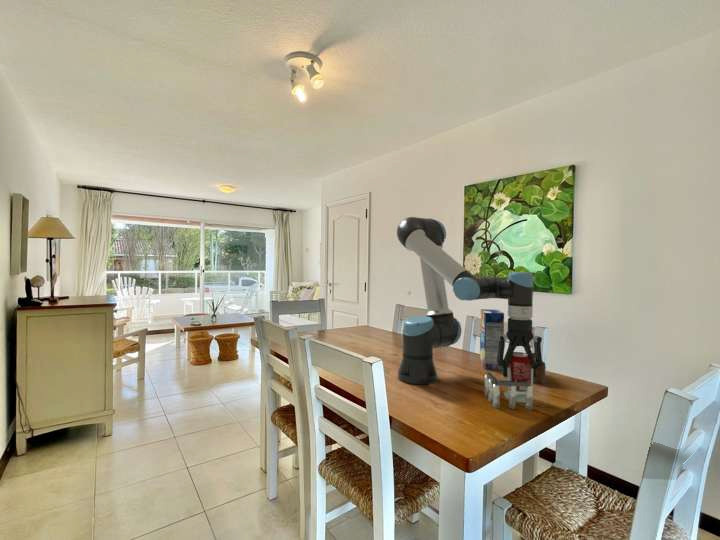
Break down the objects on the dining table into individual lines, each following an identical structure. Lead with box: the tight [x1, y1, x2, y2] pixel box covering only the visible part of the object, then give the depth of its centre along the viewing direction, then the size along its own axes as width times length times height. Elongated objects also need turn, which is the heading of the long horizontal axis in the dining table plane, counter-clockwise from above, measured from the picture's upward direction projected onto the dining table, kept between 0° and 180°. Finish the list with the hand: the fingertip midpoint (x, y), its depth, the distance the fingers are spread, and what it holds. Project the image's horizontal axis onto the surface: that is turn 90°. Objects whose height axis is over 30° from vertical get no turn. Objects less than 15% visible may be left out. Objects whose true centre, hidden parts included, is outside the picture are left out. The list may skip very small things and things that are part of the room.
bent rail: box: [483, 371, 534, 410], centre depth 116 cm, size 12×11×8 cm
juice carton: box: [479, 308, 505, 371], centre depth 156 cm, size 12×8×24 cm, turn 171°
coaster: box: [503, 390, 534, 404], centre depth 120 cm, size 9×9×1 cm
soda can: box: [508, 351, 530, 393], centre depth 119 cm, size 7×7×12 cm
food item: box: [530, 352, 546, 384], centre depth 141 cm, size 14×8×10 cm, turn 170°
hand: (518, 386), depth 120 cm, fingers closed on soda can, 7 cm apart
